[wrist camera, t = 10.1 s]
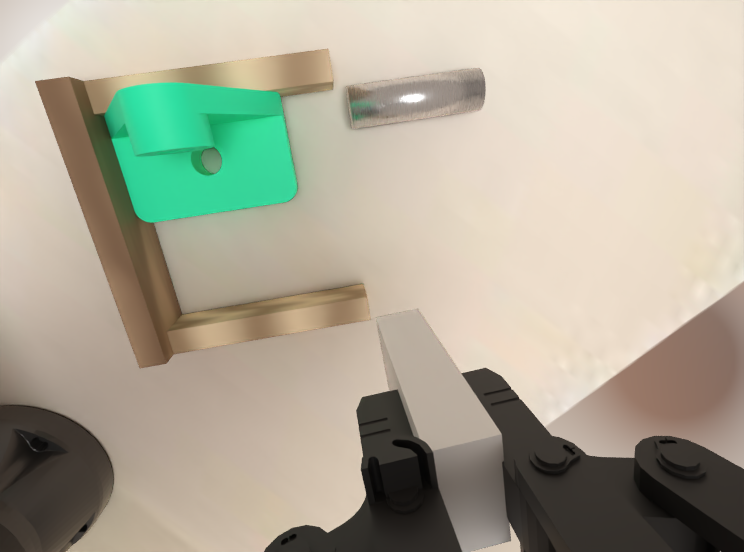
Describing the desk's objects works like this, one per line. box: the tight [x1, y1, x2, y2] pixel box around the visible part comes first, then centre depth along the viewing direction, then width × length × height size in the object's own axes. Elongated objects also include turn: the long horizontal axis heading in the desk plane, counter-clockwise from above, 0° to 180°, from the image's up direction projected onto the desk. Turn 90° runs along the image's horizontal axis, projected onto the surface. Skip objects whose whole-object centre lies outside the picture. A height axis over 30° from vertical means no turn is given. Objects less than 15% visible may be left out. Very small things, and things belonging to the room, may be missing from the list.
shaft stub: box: [346, 68, 485, 129], centre depth 30 cm, size 10×3×3 cm, turn 98°
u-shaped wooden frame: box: [35, 49, 371, 368], centre depth 30 cm, size 18×20×5 cm
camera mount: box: [104, 82, 298, 223], centre depth 26 cm, size 12×8×10 cm, turn 98°
